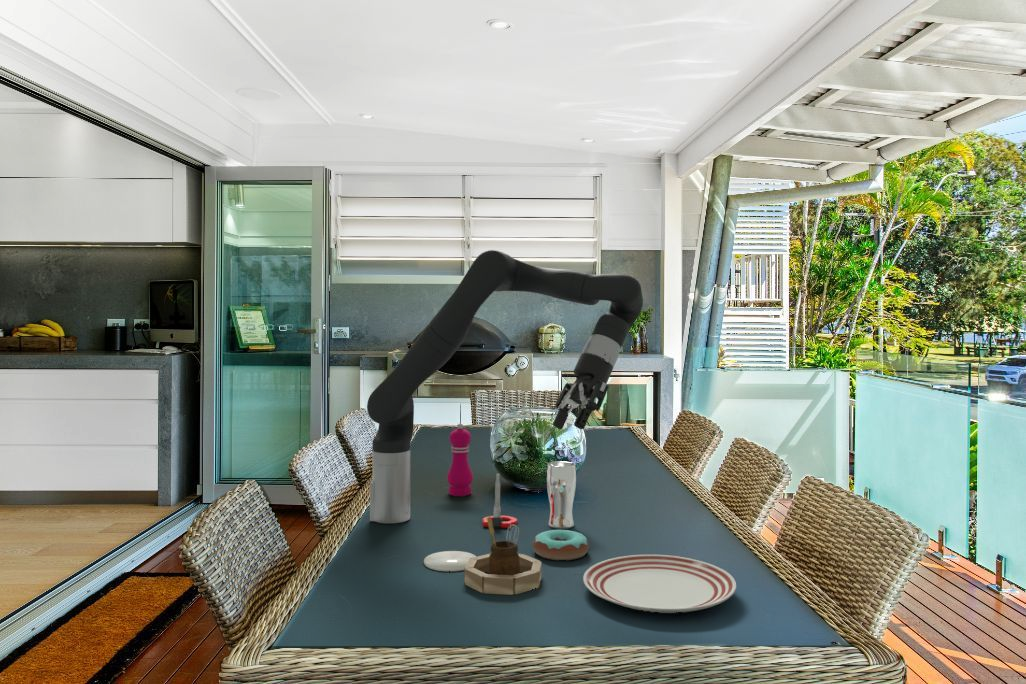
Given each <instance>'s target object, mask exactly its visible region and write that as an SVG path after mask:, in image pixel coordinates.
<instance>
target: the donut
mask: <svg viewBox="0 0 1026 684" xmlns="http://www.w3.org/2000/svg"><path fill="white" fill-rule="evenodd" d="M534 537H535V538H534V539H533V540H532V548H533V551H534V552H535V553H536V554H537V555H538V556H539V557H541V558H542V559H543V558H544V559H546V558H547V559H546V560H550V559H551V560H552V561H559V560H566V561H573V559H574V560H578V559H580V558H582V557H584V556H585V555H586V554H587V553H588V550H589V547H590V545H589V541H588V539H587V537H586V536H585V535H584V534H582V533H581V532H577V531H574V530H568V529H549V530H547V531H546V530H545V531H542V532H540V533H538V534H537V535H535V536H534ZM577 558H578V559H577ZM551 560H550V561H551Z"/></svg>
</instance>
